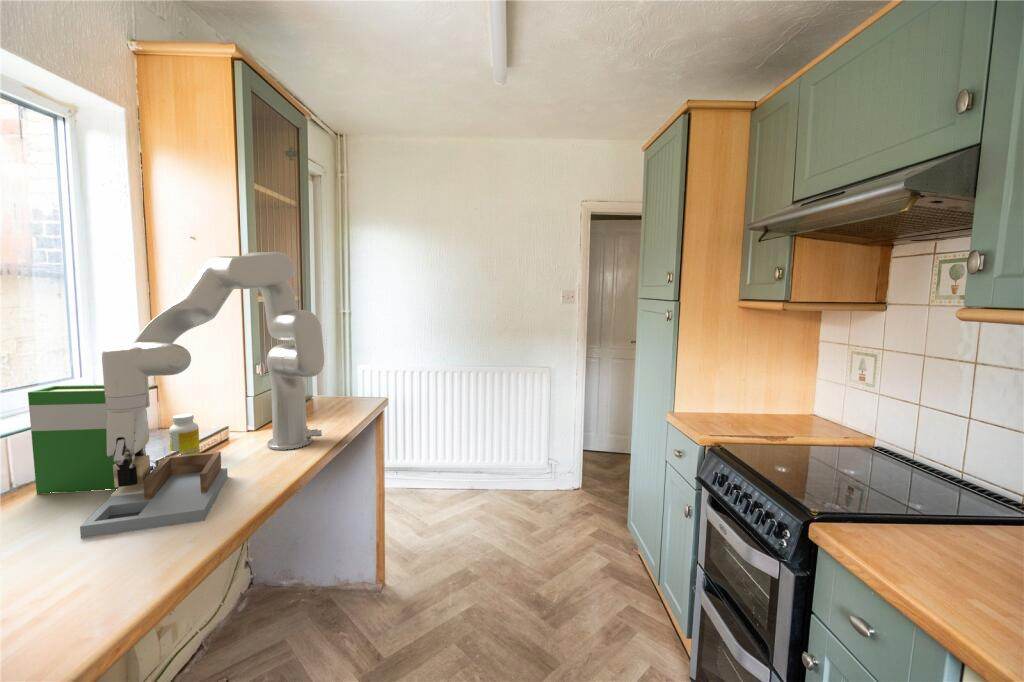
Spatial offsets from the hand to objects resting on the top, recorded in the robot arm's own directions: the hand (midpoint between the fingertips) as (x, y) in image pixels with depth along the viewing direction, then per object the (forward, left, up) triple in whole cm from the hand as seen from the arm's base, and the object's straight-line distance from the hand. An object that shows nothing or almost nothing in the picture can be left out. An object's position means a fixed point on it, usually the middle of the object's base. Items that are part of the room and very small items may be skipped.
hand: (133, 479), depth 102 cm
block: (0, 0, 0) cm, 0 cm away
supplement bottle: (-4, -24, -5) cm, 25 cm away
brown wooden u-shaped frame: (-10, 0, -2) cm, 10 cm away
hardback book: (+12, -12, -5) cm, 18 cm away
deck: (-7, +5, -5) cm, 10 cm away
